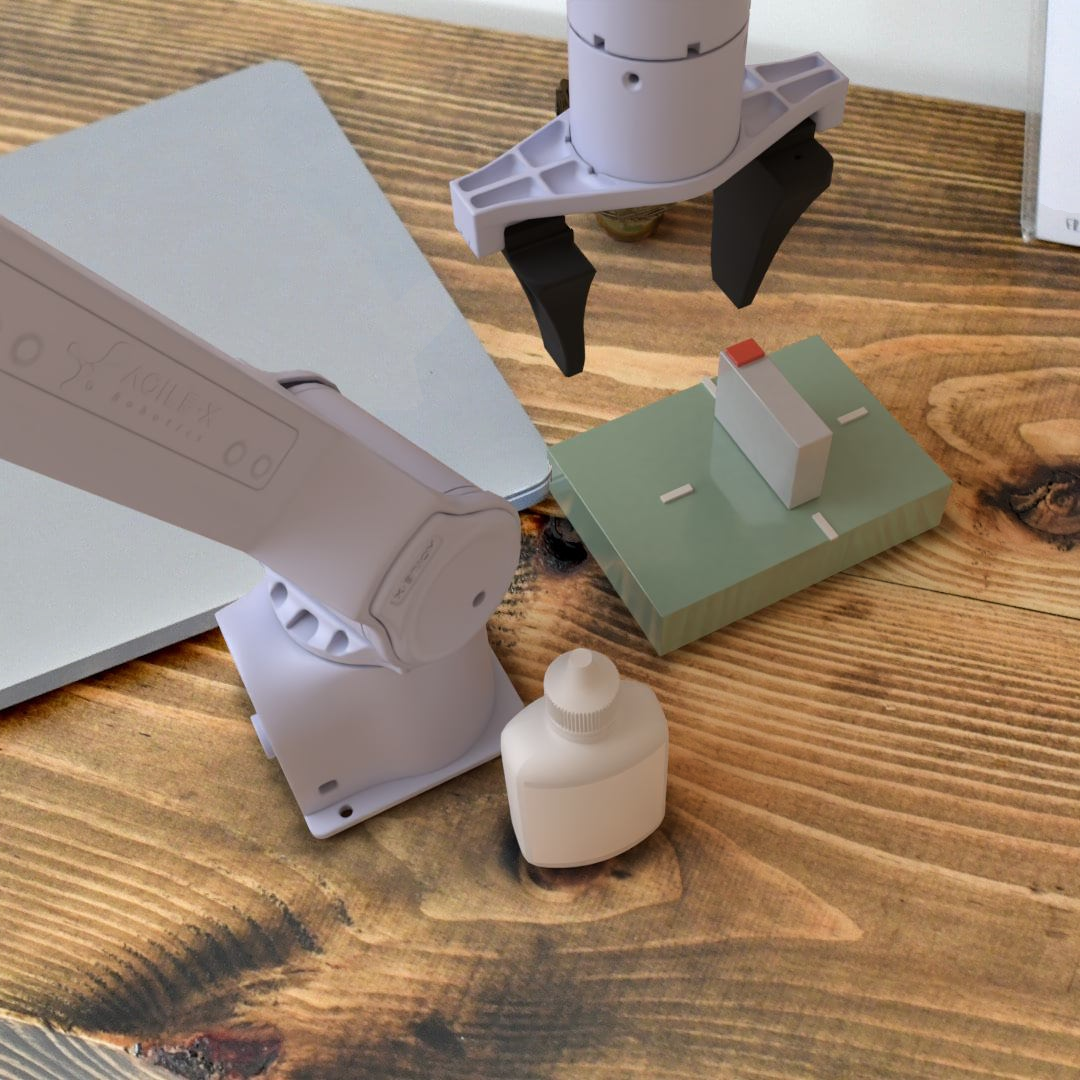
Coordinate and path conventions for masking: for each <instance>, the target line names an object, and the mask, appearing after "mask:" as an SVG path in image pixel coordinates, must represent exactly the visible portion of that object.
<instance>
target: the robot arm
mask: <svg viewBox="0 0 1080 1080" xmlns="http://www.w3.org/2000/svg"><path fill="white" fill-rule="evenodd" d="M565 3H566V29H567V30H566V31H567V61H568V62H567V64H568V65H567V67H568V69H567V70H568V79H569V100H570V108H569V109H567V110H566V111H565V112H563V113H562V114H560V115H559V116H556V117H555V118H553V119H551V120H550V121H549V122H547V123H546V124H544V125H543V126H541V127H540V128H539V129H537V130H536V131H534V132H533V133H532V134H530V135H528V136H527V137H525V138H524V139H523V140H521V141H520V142H519V143H517V144H515V145H514V146H513V147H511V148H510V149H508V150H507V151H505V152H504V153H503V154H501V155H500V156H498V157H497V158H495V159H494V160H492V161H490V162H489V163H487V164H486V165H483V166H482V167H480V168H478V169H476V170H474V171H472V172H470V173H468V174H465V175H462V176H459V177H458V178H455V179H452V180H450V181H449V182H448V184H449V191H450V199H451V207H452V215H453V223H454V227H455V229H456V230H457V231H458V233H459V234H460V236H461V238H462V239H463V240H464V242H465V243H466V245H467V246H468V248H469V249H470V250H471V251H472V253H473V254H474V256H475V257H476V258H477V259H484V258H486V257H489V256H491V255H495V254H497V253H500V252H501V254H502V256H503V257H504V258H505V261H507V263H508V265H509V266H510V268H511V270H512V272H513V273H514V275H515V277H516V278H517V280H518V282H519V284H520V286H521V288H522V290H523V293H524V294H525V296H526V298H527V301H528V302H529V305H530V307H531V310H532V312H533V314H534V317H535V320H536V324H537V326H538V330H539V332H540V336H541V339H542V340H541V341H542V344H543V348H544V349H545V350H546V352H547V354H548V355H549V357H550V358H551V360H552V361H554V363H555V365H556V366H557V368H558V369H559V370H560V372H561V374H562V375H563V376H564V377H565V378H571V377H574V376H577V375H579V374H582V373H583V372H584V368H585V362H586V343H585V342H586V341H585V340H586V339H585V314H586V307H587V302H588V297H589V293H590V290H591V287H592V283H593V281H594V280H595V279H594V278H595V276H596V274H597V272H598V270H597V269H596V267H595V266H594V265H593V264H592V262H590V260H589V259H588V258H587V256H586V255H585V253H584V252H583V250H581V249H580V247H579V246H578V245H577V243H576V242H575V231H574V229H573V228H571V227H570V226H569V225H568V224H567V222H566V216H568V215H569V216H570V215H578V214H585V213H586V214H587V213H593V212H597V211H606V210H615V209H624V208H633V207H641V206H650V205H659V204H668V203H675V202H678V203H681V202H684V201H689V200H693V199H696V198H698V197H701V196H703V195H705V194H708V193H709V192H712V202H713V203H712V223H711V235H710V255H709V257H710V269H711V280H712V281H713V282H714V283H715V284H716V286H717V287H718V288H719V289H720V290H721V292H723V294H724V295H725V296H726V297H727V298H728V299H729V301H730V302H731V303H732V304H733V305H734V306H735V308H736V309H737V310H741V309H744V308H746V307H749V306H751V305H752V304H753V302H754V300H755V298H756V297H757V294H758V292H759V289H760V287H761V285H762V282H763V281H764V279H765V277H766V275H767V272H768V270H769V269H770V266H771V264H772V262H773V260H774V258H775V257H776V255H777V253H778V251H779V249H780V247H781V246H782V244H783V242H784V240H785V239H786V237H787V236H788V234H789V233H790V231H791V230H792V229H793V227H794V225H795V224H796V223H797V222H798V221H799V219H800V218H801V216H802V215H803V214H804V213H805V212H806V211H807V210H808V209H809V207H810V206H811V205H812V204H813V203H814V202H815V201H816V200H817V199H818V198H819V197H820V196H821V195H822V194H823V193H824V192H825V191H826V190H827V189H828V188H830V187H831V183H832V178H833V172H834V164H835V160H834V157H833V155H832V154H831V153H830V151H828V150H827V149H826V148H825V147H824V146H823V145H822V143H820V142H819V141H818V140H817V139H816V138H815V135H816V133H817V132H818V133H822V132H826V131H828V130H831V129H834V128H836V127H839V126H842V125H843V120H844V116H845V109H846V108H845V107H846V103H847V96H848V90H849V84H850V78H849V77H847V76H846V74H844V72H842V71H841V70H840V69H838V67H837V66H835V64H833V63H832V62H831V61H830V60H829V59H828V58H826V57H825V55H823V54H822V53H821V52H820V51H814V52H811V53H807V54H805V55H802V56H798V57H793V58H789V59H784V60H777V61H772V62H771V61H770V62H763V63H762V62H761V63H753V64H746V56H747V47H748V38H749V28H750V27H749V25H750V15H751V11H750V9H751V5H752V0H565ZM0 460H3V461H5V462H8V463H11V464H14V465H16V466H17V467H21V468H24V469H26V470H29V471H31V472H34V473H37V474H38V475H42V476H44V477H47V478H50V479H52V480H55V481H58V482H60V483H63V484H65V485H68V486H71V487H73V488H76V489H78V490H81V491H82V492H83V491H84V492H85V493H88V494H90V495H94V496H97V497H99V498H102V499H105V500H107V501H109V502H113V503H115V504H117V505H120V506H123V507H125V508H128V509H130V510H133V511H135V512H139V513H141V514H144V515H146V516H148V517H151V518H154V519H157V520H159V521H161V522H165V523H167V524H170V525H172V526H175V527H177V528H180V529H182V530H185V531H187V532H190V533H193V534H195V535H198V536H201V537H204V538H206V539H209V540H211V541H214V542H215V543H219V544H221V545H224V546H227V547H229V548H232V549H235V550H237V551H240V552H243V553H244V554H246V555H248V556H250V557H251V558H252V559H254V560H256V561H258V564H259V565H260V566H261V567H262V568H263V569H264V575H265V577H264V578H263V579H261V581H260V582H258V584H257V585H256V586H254V587H253V588H252V589H250V590H249V591H247V593H245V594H244V595H242V596H240V598H238V599H236V600H235V601H233V602H231V603H229V604H228V605H226V606H224V607H223V608H221V609H219V610H218V611H217V612H215V613H214V617H215V619H216V622H217V625H218V626H219V629H220V632H221V635H222V637H223V639H224V641H225V643H226V646H227V648H228V651H229V653H230V655H231V657H232V660H233V662H234V664H235V667H236V669H237V671H238V674H239V677H240V679H241V680H242V682H243V685H244V687H245V690H246V692H247V694H248V696H249V699H250V701H251V703H252V705H253V708H254V710H255V712H256V713H254V714H252V715H250V720H251V723H252V726H253V727H254V730H255V732H256V735H257V737H258V739H259V741H260V744H261V746H262V749H263V751H264V753H265V755H266V757H267V760H272V759H274V758H276V759H277V761H278V763H279V765H280V768H281V769H282V772H283V774H284V776H285V778H286V781H287V783H288V785H289V787H290V790H291V792H292V793H293V796H294V798H295V801H296V802H297V804H298V807H299V809H300V811H301V813H302V815H303V818H304V820H305V823H306V824H307V827H308V829H309V831H310V833H311V834H312V836H313V837H314V838H316V839H319V840H325V839H327V838H330V837H332V836H334V835H336V834H338V833H341V832H343V831H345V830H347V829H349V828H351V827H353V826H355V825H358V824H360V823H362V822H364V821H365V820H369V819H370V818H373V817H374V816H376V815H379V814H381V813H383V812H385V811H387V810H389V809H391V808H393V807H395V806H397V805H400V804H401V803H403V802H405V801H408V800H410V799H412V798H414V797H416V796H418V795H421V794H422V793H425V792H426V791H429V790H431V789H433V788H435V787H437V786H439V785H442V784H444V783H446V782H447V781H449V780H450V781H451V780H452V779H454V778H456V777H458V776H460V775H462V774H464V773H466V772H468V771H471V770H473V769H474V768H477V767H479V766H481V765H483V764H486V763H488V762H489V761H492V760H494V759H495V758H498V757H500V756H502V753H501V733H502V731H503V730H504V728H505V726H506V725H507V724H508V722H509V721H510V720H511V719H512V718H513V717H515V716H516V715H517V714H518V713H519V712H520V711H522V710H523V709H524V708H525V707H526V706H525V704H524V702H523V700H522V699H521V697H520V695H519V694H518V692H517V690H516V688H515V686H514V685H513V683H512V681H511V679H510V677H509V676H508V673H506V671H505V669H504V668H503V666H502V664H501V662H500V661H499V659H498V657H497V654H496V653H495V652H494V650H493V647H491V644H490V643H489V636H488V629H487V623H488V622H489V621H490V619H491V618H492V617H493V615H494V614H495V612H496V611H497V610H498V609H499V606H500V605H501V604H502V603H503V600H504V599H505V597H506V595H507V593H508V591H509V589H510V587H511V586H512V583H513V580H514V578H515V575H516V572H517V569H518V567H519V562H520V557H521V549H522V546H521V545H522V543H521V542H522V541H521V540H522V525H521V523H522V522H521V518H520V515H519V512H518V510H517V509H516V508H515V506H514V505H513V503H512V502H511V501H509V500H508V499H506V498H505V497H503V496H501V495H500V494H497V493H494V492H493V491H490V490H484V489H483V488H481V487H479V486H478V485H476V484H475V483H474V482H472V481H470V480H469V479H468V478H466V477H464V475H462V474H460V473H459V472H457V471H456V470H454V469H453V468H451V467H450V466H448V465H447V464H446V463H444V462H442V461H441V460H440V459H438V458H437V457H435V456H433V455H432V454H431V453H429V452H428V451H426V450H425V449H424V448H422V447H421V446H419V445H417V444H416V443H414V442H413V441H412V440H410V439H408V438H407V437H406V436H404V435H403V434H401V433H399V431H396V430H395V429H394V428H392V427H391V426H389V425H388V424H386V423H385V422H383V421H382V420H381V419H379V418H377V417H376V416H375V415H373V414H372V413H370V412H368V411H367V410H366V409H364V408H363V407H362V406H360V405H358V404H357V403H355V402H354V401H352V400H351V399H349V398H348V397H347V396H345V395H344V394H342V392H341V391H340V389H339V388H338V386H337V384H335V383H334V382H332V381H331V380H329V379H328V378H326V377H325V376H323V375H322V374H320V373H317V372H315V371H313V370H307V369H290V370H283V371H266V370H262V369H260V368H259V367H255V366H254V365H252V364H251V363H249V362H247V361H246V360H244V359H243V358H242V357H241V358H240V357H235V358H234V357H233V356H231V355H230V354H228V353H226V352H225V351H223V350H222V349H220V348H218V347H216V345H213V344H212V343H211V342H208V341H207V340H206V339H204V338H202V337H200V336H199V335H197V334H196V333H194V332H192V331H191V330H189V329H187V328H185V326H183V325H181V324H180V323H178V322H176V321H175V320H173V319H171V318H170V317H168V316H167V315H165V314H163V313H161V312H160V311H159V310H157V309H155V308H154V307H152V306H150V305H149V304H147V303H145V302H144V301H142V300H140V299H139V298H137V297H135V296H134V295H133V294H131V293H129V292H127V291H126V290H125V289H123V288H121V287H119V286H117V285H116V284H114V283H113V282H112V281H110V280H108V279H106V278H105V277H103V276H102V275H100V274H98V273H97V272H95V271H93V270H92V269H90V268H88V267H87V266H85V265H84V264H82V263H81V262H79V261H77V260H76V259H74V258H72V257H71V256H69V255H68V254H66V253H65V252H62V251H61V250H59V249H58V248H56V247H54V246H53V245H51V244H50V243H48V242H47V241H45V240H43V239H42V238H40V237H38V236H36V235H35V234H33V233H32V232H30V231H29V230H27V229H25V228H23V227H21V225H19V224H17V223H15V222H14V221H12V220H11V219H9V218H7V217H6V216H4V215H3V214H1V213H0ZM348 810H350V811H352V813H351V815H349V816H347V817H343V816H342V814H343V813H344V812H345V811H348Z"/></svg>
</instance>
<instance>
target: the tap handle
mask: <svg viewBox="0 0 1080 1080" xmlns="http://www.w3.org/2000/svg"><path fill="white" fill-rule="evenodd" d="M767 355H768V354H766V352H765V351H764V349H762V347H761V346H760V345H759V344H758V343H757V341H756V340H755V339H754V338H753V337H750V338H748V339H745V340H743V341H740V342H738V343H736V344H733V345H730V346H728V347H726V348H724V349H722V350H720V351H719V356H718V368H717V376H718V378H717V390H716V401H715V412H714V415H715V417H716V418H717V419H718V421H719V422H720V423H721V424H722V426H723V427H724V428H725V429H726V431H727V432H728V433H729V435H730V436H731V437H732V438H733V440H734V441H735V442H736V443H737V445H738V446H739V447H740V448H741V450H742V451H743V452H744V454H745V455H746V456H747V457H748V459H749V460H750V461H751V462H752V464H753V465H754V466H755V467H756V469H757V470H758V471H759V473H760V474H761V475H762V476H763V478H764V479H765V480H766V481H767V483H768V484H769V485H770V486H771V488H772V489H773V490H774V492H775V493H776V494H777V495H778V497H779V498H780V499H781V500H782V502H783V503H784V504H785V505H786V507H787V508H788V509H792V508H794V507H797V506H799V505H801V504H803V503H805V502H808V501H810V500H812V499H814V498H817V497H819V496H820V495H821V492H822V487H823V482H824V477H825V472H826V467H827V462H828V457H829V452H830V447H831V442H832V437H833V433H832V431H831V430H830V429H829V428H828V426H827V425H826V424H825V423H824V422H823V421H822V419H821V418H820V417H819V416H818V415H817V414H816V412H815V411H814V410H813V409H812V408H811V407H810V405H809V404H808V403H807V402H806V401H805V400H804V398H803V397H802V396H801V395H800V394H799V393H798V391H797V390H796V389H795V388H794V387H793V386H792V384H791V383H790V382H789V381H788V380H787V379H786V377H785V376H784V375H783V374H782V373H781V372H780V370H779V369H778V368H777V367H776V366H775V365H774V363H773V362H772V361H771V360H770V359H769V358H768V356H767Z"/></svg>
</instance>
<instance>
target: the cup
mask: <svg viewBox="0 0 1080 1080" xmlns="http://www.w3.org/2000/svg"><path fill="white" fill-rule="evenodd" d="M554 93H555V107H554V109H555V110H554V113H555V116H556V117H557V116H559V115H560V114H562V113H563V112H565V111H566V110H567V109H569V108H570V100H569V78H561V79H560V81H559V83H558V87H556V88H555V92H554ZM678 203H679V202H675V203H668V204H659V205H650V206H641V207H633V208H624V209H615V210H606V211H597V212H592V213H593V214H594V217H595V220H596V222H597V225H598V226H599V227H600V229H601V231H602V232H603V233H605V234H606V235H607V236H609V237H610V238H613V239H615V240H619V241H622V242H623V241H624V242H635V241H640V240H644V239H647V238H648V237H650V236H652V235H653V234H654V233H655V232H657V230H658V229H659V228H660V226H661V224H662V223H663V220H665V219H664V218H665V215H666V213H668V212H669V211H670V210H672V209H673V208H674V207H675V206H676V205H677V204H678Z"/></svg>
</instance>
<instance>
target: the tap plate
mask: <svg viewBox="0 0 1080 1080" xmlns="http://www.w3.org/2000/svg"><path fill="white" fill-rule="evenodd" d="M766 355H767V356H768V358H769V359H770V360H771V361H772V362H773V363H774V365H775V366H776V367H777V368H778V369H779V370H780V372H781V373H782V374H783V375H784V376H785V377H786V379H787V380H788V381H789V382H790V383H791V384H792V386H793V387H794V388H795V389H796V390H797V391H798V393H799V394H800V395H801V396H802V397H803V398H804V400H805V401H806V402H807V403H808V404H809V405H810V407H811V408H812V409H813V410H814V411H815V412H816V414H817V415H818V416H819V417H820V418H821V419H822V421H823V422H824V423H825V424H826V425H827V426H828V428H829V429H830V430H831V431H832V433H833V437H832V442H831V447H830V452H829V457H828V462H827V467H826V472H825V477H824V482H823V487H822V492H821V495H820V496H819V497H817V498H814V499H812V500H810V501H808V502H805V503H803V504H801V505H799V506H797V507H794V508H792V509H788V508H787V507H786V505H785V504H784V503H783V502H782V500H781V499H780V498H779V497H778V495H777V494H776V493H775V492H774V490H773V489H772V488H771V486H770V485H769V484H768V483H767V481H766V480H765V479H764V478H763V476H762V475H761V474H760V473H759V471H758V470H757V469H756V467H755V466H754V465H753V464H752V462H751V461H750V460H749V459H748V457H747V456H746V455H745V454H744V452H743V451H742V450H741V448H740V447H739V446H738V445H737V443H736V442H735V441H734V440H733V438H732V437H731V436H730V435H729V433H728V432H727V431H726V429H725V428H724V427H723V426H722V424H721V423H720V422H719V421H718V419H717V418H716V417H715V415H714V412H715V401H716V390H717V378H718V375H716V376H714V377H712V378H710V377H709V375H706V376H705V375H704V376H703V377H701V378H700V383H697V384H695V385H693V386H690V387H687V388H685V389H683V390H681V391H679V392H676V393H674V394H671V395H668V396H666V397H664V398H661V399H659V400H657V401H654V402H652V403H649V404H646V405H644V406H642V407H640V408H638V409H636V410H635V409H634V410H633V411H630V412H628V413H626V414H624V415H621V416H619V417H616V418H613V419H612V420H609V421H607V422H605V423H602V424H599V425H597V426H595V427H593V428H592V427H591V428H590V429H588V430H585V431H582V432H581V433H579V434H576V435H573V436H571V437H568V438H566V439H564V440H562V441H559V442H557V443H554V444H552V445H550V446H548V447H547V446H546V448H545V449H546V460H547V459H548V460H549V464H550V466H551V465H552V482H551V480H550V481H549V480H548V490H549V492H550V494H551V496H552V497H553V498H554V500H555V502H556V503H557V504H558V506H559V507H560V509H561V510H562V512H563V513H564V515H565V516H566V518H567V519H568V521H569V522H570V524H571V525H572V527H573V528H574V530H575V532H576V533H577V534H578V536H579V537H580V539H581V541H582V542H583V544H584V545H585V546H586V548H587V550H588V551H589V553H590V554H591V556H592V557H593V558H594V560H595V561H596V564H598V566H599V567H600V569H601V571H602V572H603V574H604V575H605V577H606V578H607V579H608V581H609V583H610V584H611V585H612V587H613V588H614V590H615V592H616V593H617V595H618V596H619V598H620V599H621V600H622V602H623V604H624V605H625V607H626V608H627V610H628V611H629V613H630V614H631V616H632V617H633V619H634V621H636V623H637V625H638V626H639V628H640V629H641V631H642V632H643V633H644V636H646V639H647V640H648V641H649V643H650V644H651V645H652V647H653V649H654V651H656V653H657V655H658V656H659V657H663V656H665V655H667V654H669V653H672V652H674V651H676V650H678V649H680V648H682V647H685V646H686V645H689V644H691V643H693V642H695V641H697V640H699V639H701V638H704V637H705V636H708V635H709V634H712V633H714V632H717V631H718V630H720V629H723V628H724V627H727V626H729V625H731V624H732V623H733V624H734V623H735V622H738V621H740V620H741V619H744V618H745V617H748V616H750V615H752V614H754V613H756V612H758V611H761V610H763V609H765V608H767V607H768V606H771V605H773V604H775V603H777V602H780V601H781V600H784V599H786V598H788V597H790V596H792V595H794V594H796V593H798V592H800V591H802V590H805V589H806V588H809V587H811V586H813V585H815V584H818V583H820V582H822V581H824V580H826V579H828V578H830V577H832V576H835V575H837V574H838V573H841V572H842V571H845V570H848V569H849V568H851V567H853V566H855V565H857V564H860V563H862V562H864V561H867V560H868V559H870V558H872V557H875V556H876V555H879V554H881V553H883V552H885V551H887V550H889V549H891V548H894V547H895V546H898V545H901V544H903V543H904V542H906V541H908V540H910V539H913V538H915V537H917V536H919V535H920V534H923V533H926V532H927V531H929V530H932V529H933V528H935V527H938V526H940V524H941V521H942V518H943V514H944V512H945V509H946V506H947V503H948V500H949V496H950V495H951V491H952V488H953V485H954V481H953V480H952V479H951V477H950V476H949V475H948V474H947V473H946V472H945V471H944V470H943V469H942V468H941V467H940V465H938V463H936V461H935V460H934V459H933V458H932V457H931V456H930V454H928V453H927V451H926V450H925V449H924V448H923V447H922V446H921V445H920V444H919V443H918V442H917V441H916V439H915V438H914V437H913V436H912V435H911V434H910V433H909V432H908V430H906V429H905V428H904V426H903V425H902V424H901V423H900V422H899V421H898V420H897V419H896V417H894V416H893V415H892V413H891V412H890V411H889V410H888V409H887V408H886V407H885V405H883V403H881V401H880V400H879V399H878V398H877V396H875V395H874V393H872V391H871V390H870V389H868V387H867V386H866V385H865V384H864V382H862V381H861V380H860V378H859V377H858V376H857V375H856V374H855V373H854V372H853V371H852V370H851V368H849V366H848V365H847V364H846V363H845V362H844V361H843V359H841V358H840V357H839V355H837V353H836V352H835V351H834V350H833V349H832V348H831V347H830V345H828V344H827V342H826V341H825V340H824V339H823V338H822V337H821V336H820V335H819V334H818V333H816V334H814V335H812V336H808V337H807V338H805V339H802V340H800V341H797V342H795V343H793V344H790V345H787V346H785V347H783V348H781V349H778V350H775V351H773V352H771V353H769V354H766Z"/></svg>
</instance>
